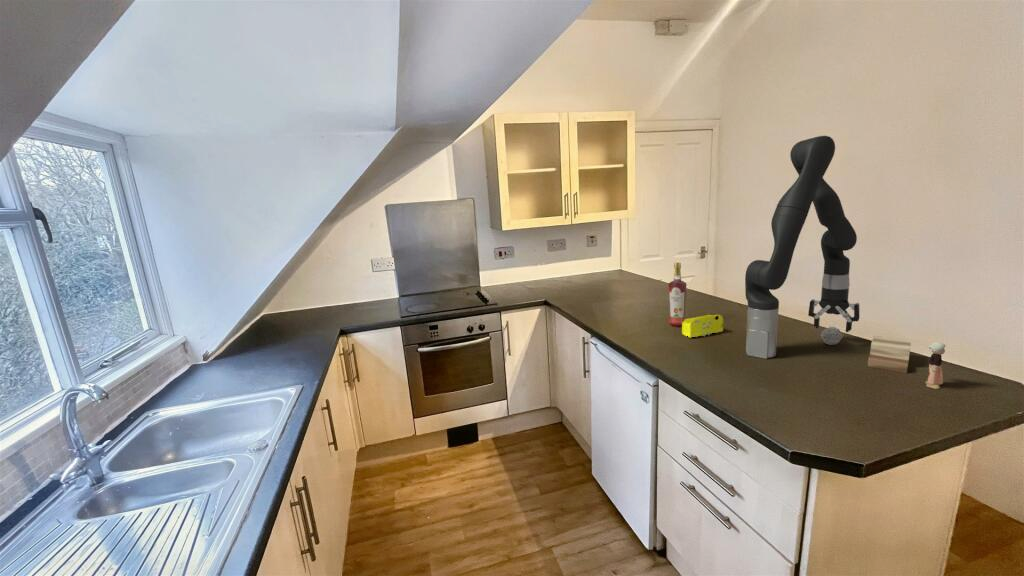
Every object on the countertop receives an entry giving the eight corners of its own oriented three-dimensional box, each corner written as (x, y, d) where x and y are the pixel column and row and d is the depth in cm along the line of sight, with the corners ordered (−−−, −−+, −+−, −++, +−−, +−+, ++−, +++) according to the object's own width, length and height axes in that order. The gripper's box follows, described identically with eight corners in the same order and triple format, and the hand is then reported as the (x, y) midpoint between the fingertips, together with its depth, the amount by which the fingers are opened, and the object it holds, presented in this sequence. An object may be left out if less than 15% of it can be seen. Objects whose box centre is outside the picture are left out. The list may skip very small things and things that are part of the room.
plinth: (906, 373, 123) (909, 354, 122) (867, 366, 130) (869, 348, 128) (908, 358, 133) (911, 340, 132) (872, 352, 139) (874, 335, 138)
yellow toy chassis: (691, 340, 164) (691, 320, 163) (681, 335, 170) (681, 316, 168) (723, 333, 169) (724, 314, 167) (713, 329, 174) (713, 310, 172)
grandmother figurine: (946, 391, 112) (953, 347, 109) (927, 389, 114) (933, 346, 111) (937, 380, 118) (944, 338, 115) (919, 378, 120) (925, 337, 117)
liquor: (687, 323, 184) (688, 261, 178) (684, 328, 178) (685, 264, 172) (670, 321, 188) (670, 261, 182) (666, 326, 182) (666, 264, 176)
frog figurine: (822, 347, 146) (824, 329, 145) (818, 341, 153) (819, 323, 151) (843, 349, 144) (845, 330, 142) (838, 342, 150) (840, 324, 149)
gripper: (808, 286, 146) (806, 329, 150) (860, 290, 136) (856, 336, 140) (812, 282, 152) (810, 323, 155) (862, 285, 142) (859, 329, 145)
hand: (832, 329), depth 148 cm, fingers open, 8 cm apart
